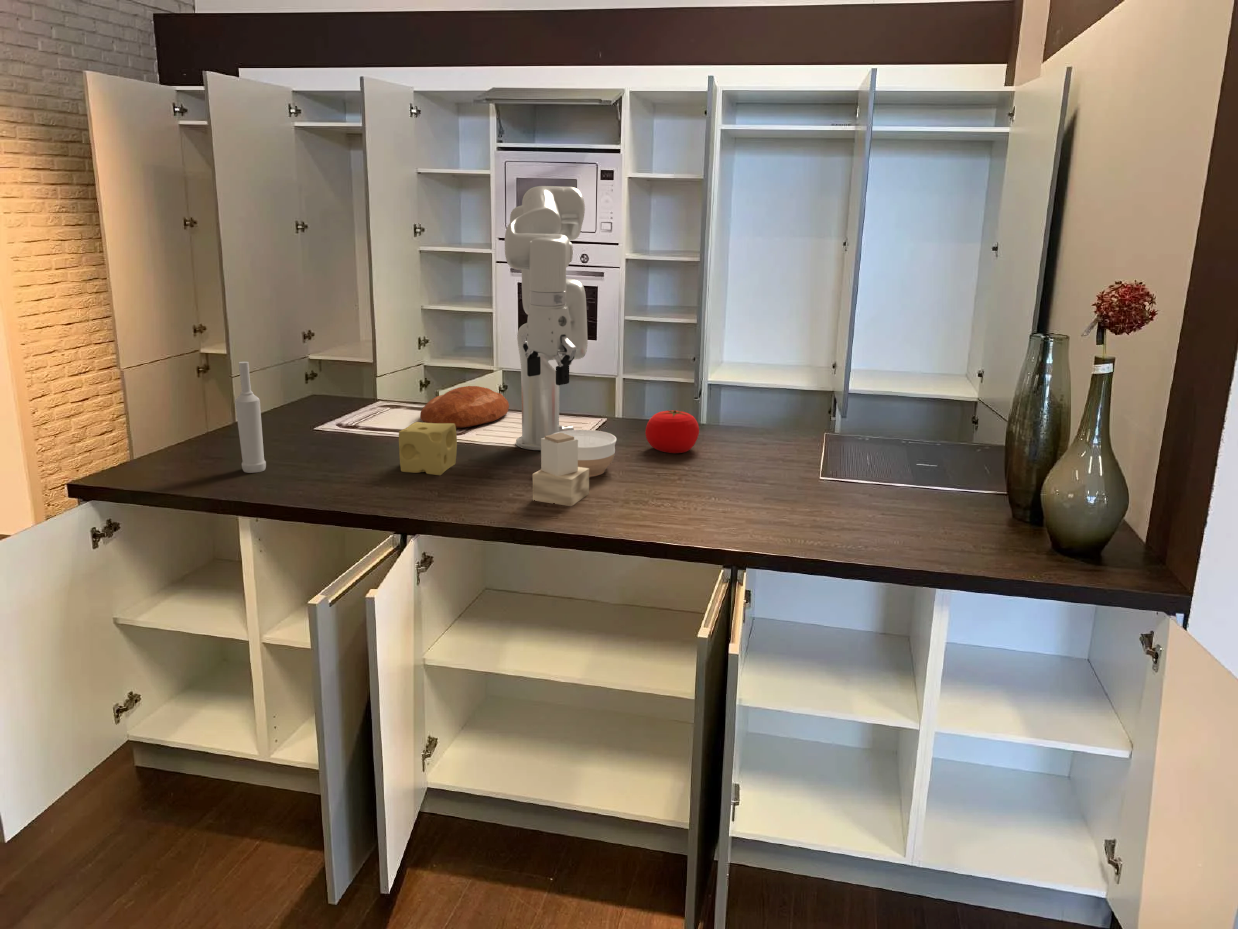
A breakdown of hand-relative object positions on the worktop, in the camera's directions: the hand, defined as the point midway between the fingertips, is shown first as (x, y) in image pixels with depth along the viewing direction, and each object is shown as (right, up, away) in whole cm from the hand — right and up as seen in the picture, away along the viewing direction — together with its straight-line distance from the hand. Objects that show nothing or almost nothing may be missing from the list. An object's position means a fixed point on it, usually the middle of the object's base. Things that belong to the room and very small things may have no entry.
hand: (548, 379), depth 192 cm
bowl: (+6, -20, +20) cm, 29 cm away
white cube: (+2, -19, 0) cm, 20 cm away
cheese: (-30, -19, +20) cm, 40 cm away
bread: (-29, -5, +67) cm, 73 cm away
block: (+3, -25, +1) cm, 25 cm away
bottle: (-69, -19, +15) cm, 73 cm away
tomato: (+29, -15, +38) cm, 50 cm away
